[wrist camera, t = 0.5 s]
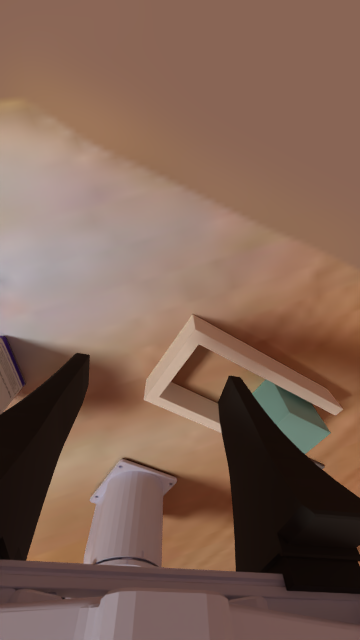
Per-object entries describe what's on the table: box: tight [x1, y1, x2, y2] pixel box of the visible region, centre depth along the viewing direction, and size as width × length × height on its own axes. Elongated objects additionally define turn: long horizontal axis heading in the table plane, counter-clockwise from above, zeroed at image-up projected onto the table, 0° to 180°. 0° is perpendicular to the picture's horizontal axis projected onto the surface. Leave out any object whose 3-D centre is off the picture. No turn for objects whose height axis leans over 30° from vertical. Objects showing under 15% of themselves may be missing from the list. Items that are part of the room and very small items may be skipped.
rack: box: [144, 314, 343, 433], centre depth 25 cm, size 8×17×3 cm, turn 58°
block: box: [252, 380, 331, 454], centre depth 26 cm, size 5×5×5 cm
